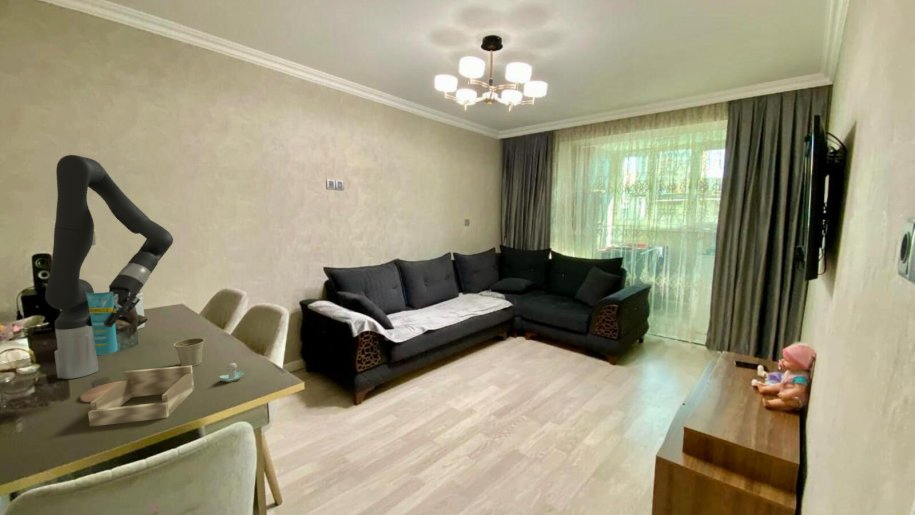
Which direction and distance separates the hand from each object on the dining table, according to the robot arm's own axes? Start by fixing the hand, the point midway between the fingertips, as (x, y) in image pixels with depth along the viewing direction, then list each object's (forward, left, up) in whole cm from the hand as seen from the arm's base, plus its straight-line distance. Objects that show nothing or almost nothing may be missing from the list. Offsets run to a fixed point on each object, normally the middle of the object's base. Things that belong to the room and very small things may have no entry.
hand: (97, 325), depth 113 cm
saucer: (+1, +1, -22) cm, 22 cm away
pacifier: (+34, +3, -22) cm, 41 cm away
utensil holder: (-34, +78, -22) cm, 89 cm away
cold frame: (+17, -12, -22) cm, 30 cm away
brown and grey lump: (-24, +48, -22) cm, 59 cm away
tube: (+1, +2, -9) cm, 10 cm away
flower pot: (+16, +20, -22) cm, 34 cm away
